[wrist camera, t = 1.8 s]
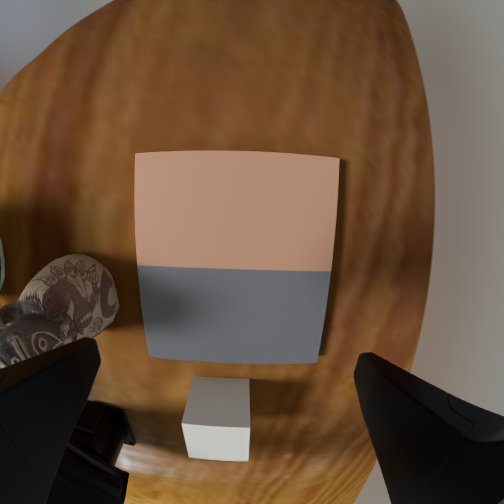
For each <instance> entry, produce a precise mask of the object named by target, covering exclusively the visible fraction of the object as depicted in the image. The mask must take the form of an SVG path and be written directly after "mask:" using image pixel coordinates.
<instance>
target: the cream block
mask: <svg viewBox="0 0 504 504" xmlns="http://www.w3.org/2000/svg"><path fill="white" fill-rule="evenodd" d="M181 424H182V428H183V433H184V438H185V442H186V447H187V451H188V455H189V458H198V459H210V460H225V461H248V458H249V441H250V391H249V379H242V378H217V377H201V376H193V378H192V382H191V386H190V390H189V394H188V398H187V402H186V407H185V411H184V415H183V419H182V423H181Z"/></svg>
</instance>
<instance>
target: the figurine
mask: <svg viewBox="0 0 504 504" xmlns="http://www.w3.org/2000/svg"><path fill="white" fill-rule="evenodd" d="M118 309H119V302H118V297H117V291H116V288H115V282H114V280H113V277H112V275H111V273H110V272H109V271H108V269H107V268H106V267H105V266H103V265H102V264H101V263H100V262H99V261H97V260H96V259H94V258H92V257H89V256H86V255H82V254H69V255H66V256H63V257H61V258H58V259H55V260H54V261H52V262H50V263H49V264H48V265H47V266H46V267H44V268H43V269H42V270H40V271H39V272H38V273H37V274H36V275H35V276H34V277H33V279H32V280H31V281H30V282H29V283H28V285H27V286H26V287H25V289H24V290H23V292H22V294H21V296H20V297H19V299H18V301H16V302H13V303H10V304H7V305H4V306H3V307H2V308H1V309H0V369H1V368H4V367H6V366H10V365H12V364H15V363H17V362H20V361H23V360H25V359H28V358H31V357H33V356H36V355H39V354H41V353H44V352H47V351H49V350H52V349H55V348H57V347H60V346H62V345H65V344H68V343H70V342H73V341H75V340H78V339H81V338H83V337H88V338H93V337H95V336H97V335H99V334H100V333H101V332H102V331H103V330H104V329H105V328H106V327H107V326H108V325H109V324H111V323H112V322H113V321H114V318H115V315H116V312H117V311H118ZM7 323H12V324H11V325H10V326H5V325H6V324H7Z"/></svg>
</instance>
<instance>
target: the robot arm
mask: <svg viewBox="0 0 504 504" xmlns="http://www.w3.org/2000/svg"><path fill="white" fill-rule="evenodd" d="M100 363H101V358H100V354H99V350H98V346H97V342H96V340H95V339H93V338H88V337H83V338H81V339H78V340H75V341H73V342H70V343H68V344H65V345H62V346H60V347H57V348H55V349H52V350H49V351H47V352H44V353H41V354H39V355H36V356H33V357H31V358H28V359H25V360H23V361H20V362H17V363H15V364H12V365H10V366H6V367H4V368H1V369H0V504H124V501H125V496H126V490H127V484H128V478H129V473H128V472H126V471H123V470H121V469H119V468H117V467H115V464H116V461H117V458H118V456H119V453H120V451H121V448H122V446H123V443H124V444H128V445H132V446H134V445H135V443H136V441H135V439H134V437H133V434H132V432H131V429H130V426H129V424H128V421H127V418H126V416H125V413H124V412H123V411H122V410H120V409H115V408H111V407H107V406H103V405H99V404H95V403H91V402H88V401H87V399H88V397H89V394H90V392H91V389H92V386H93V383H94V380H95V377H96V374H97V372H98V369H99V366H100ZM354 380H355V385H356V389H357V393H358V398H359V402H360V407H361V411H362V414H363V418H364V420H365V423H366V426H367V429H368V432H369V435H370V438H371V441H372V444H373V447H374V450H375V453H376V456H377V459H378V462H379V465H380V468H381V471H382V474H383V477H384V481H385V484H386V487H387V491H388V494H389V497H390V501H391V504H504V416H501V415H499V414H496V413H493V412H490V411H488V410H485V409H483V408H480V407H478V406H475V405H473V404H470V403H468V402H466V401H464V400H461V399H459V398H457V397H455V396H453V395H451V394H449V393H446V392H445V391H443V390H442V389H440V388H438V387H436V386H434V385H432V384H430V383H428V382H426V381H424V380H422V379H420V378H418V377H416V376H415V375H413V374H411V373H409V372H407V371H405V370H403V369H402V368H400V367H398V366H396V365H394V364H392V363H390V362H389V361H387V360H385V359H383V358H381V357H379V356H378V355H376V354H374V353H372V352H368V353H361V354H360V355H359V357H358V361H357V364H356V368H355V371H354Z"/></svg>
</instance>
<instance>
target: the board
mask: <svg viewBox="0 0 504 504" xmlns="http://www.w3.org/2000/svg"><path fill="white" fill-rule="evenodd" d="M339 159H340V158H334V157H325V156H315V155H304V154H291V153H276V152H257V151H169V152H149V153H135V236H136V255H137V269H138V280H139V290H140V300H141V308H142V316H143V323H144V330H145V337H146V343H147V349H148V355H149V357H157V358H166V359H175V360H186V361H199V362H215V363H238V364H298V363H317V360H318V354H319V349H320V343H321V338H322V332H323V325H324V319H325V313H326V306H327V299H328V292H329V284H330V276H331V268H332V259H333V249H334V239H335V228H336V215H337V201H338V183H339Z"/></svg>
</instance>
